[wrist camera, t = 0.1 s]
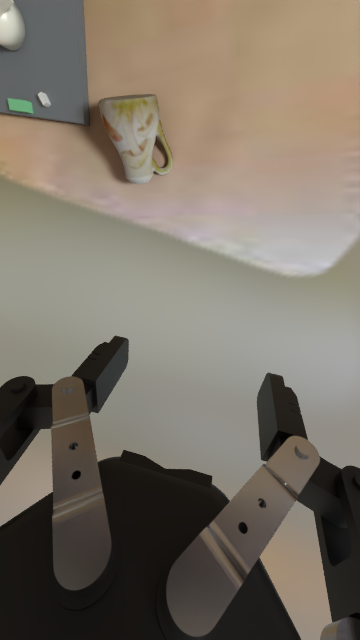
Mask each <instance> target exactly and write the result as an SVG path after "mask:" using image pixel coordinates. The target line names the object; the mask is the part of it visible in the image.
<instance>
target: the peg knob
mask: <svg viewBox="0 0 360 640" xmlns="http://www.w3.org/2000/svg"><path fill="white" fill-rule="evenodd" d="M24 39H25V25H24V20H23V17H22V14H21V12H20V10H19V8H18V7H17V5H16V4H15V3H14V1H13V0H0V45H2V46H3V47H5V48H7V49H9V50H12V51H15V50H18V49H19V48H20V47H21V46H22V45H23V42H24Z"/></svg>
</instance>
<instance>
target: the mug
mask: <svg viewBox="0 0 360 640" xmlns="http://www.w3.org/2000/svg"><path fill="white" fill-rule="evenodd" d="M99 109H100V115H101V120H102V122H103V125H104V127H105V129H106V131H107V133H108V135H109V137H110V139H111V140H112V142H113V144H114V146H115V147H116V149H117V151H118V153H119V155H120V157H121V159H122V162H123V166H124V171H125V176H126V178H127V179H128V180H129V181H130V182H132V183H135V184H143V183H146V182H148V181H149V180H150V179H151V177H152V176H153V172H154V171H155V172H156V173H158V174H159V175H166V174H167V173H168V172H169V171H170V170H171V168H172V163H173V159H172V154H171V150H170V148H169V146H168V144H167V142H166V139H165V137H164V134H163V130H162V125H161V122H160V120H159V107H158V101H157V97H156V95H151V94H146V95H128V96H118V97H110V98H104V99H101V100H100V101H99ZM156 136H158V138H159V139H160V141H161V143H162V145H163V147H164V149H165V151H166V154H167V157H168V164H167V165H166V167H164V168H159V167H158V166H157V165H156V162H155V160H154V159H153V157H152V153H153V148H154V143H155V139H156Z"/></svg>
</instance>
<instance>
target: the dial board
mask: <svg viewBox="0 0 360 640" xmlns="http://www.w3.org/2000/svg"><path fill="white" fill-rule="evenodd" d="M13 1H14V3H15V4H16V5H17V7H18V8H19V10H20V12H21V14H22V17H23V20H24V25H25V39H24V42H23V45H22V46H21V47H20V48H19V49H18V50H15V51H12V50H9V49H7V48H5V47H3V46H2V45H0V113H3V114H10V115H17V116H24V117H31V118H38V119H46V120H53V121H60V122H67V123H74V124H81V125H88V126H90V123H89V104H88V84H87V65H86V46H85V26H84V7H83V0H13Z"/></svg>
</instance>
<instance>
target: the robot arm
mask: <svg viewBox="0 0 360 640" xmlns="http://www.w3.org/2000/svg"><path fill="white" fill-rule="evenodd" d="M128 343H129V341H128V339H127V338H123V337H119V336H114V337H113V339H112V340H111V341H110V342H109V343H107V342H104V343H102V344H100V345H98V346H97V347H96V348H95V349H94V350H93V351H92V353H91V354H90V355H89V356H88V358H86V360H85V361H84V362H83V363H82V364H81V365H80V367H79V368H78V369H77V370H76V371H75V372H74V374H73V375H72V376H71V377H65V378H62V379H60V380H58V381H57V382H56V383H55V384H49V385H36V384H35V381H34V379H32V378H31V377H27V376H20V377H16V378H13V379H11V380H9V381H7V382H6V383H5V384H4V385H3V386H1V387H0V485H1V483H2V482H3V481H4V479H5V478H6V476H7V475H8V474H9V472H10V471H11V470H12V468H13V467H14V465H15V464H16V462H17V461H18V460H19V458H20V457H21V456H22V454H23V453H24V452H25V450H26V449H27V447H28V446H29V445H30V443H31V442H32V440H33V439H34V438H35V436H36V435H37V434H38V432H39V430H40V429H51V436H52V474H53V492H52V493H50V494H48V495H47V496H45V497H44V498H43V499H41V500H39V501H38V502H36V503H35V504H34V505H32V506H30V507H29V508H28V509H26V510H24V511H23V512H21V513H20V514H19V515H17V516H15V517H14V518H12V519H11V520H9V521H8V522H7V523H5V524H3V525H2V526H0V640H301V638H300V636H299V634H298V632H297V630H296V628H295V626H294V624H293V622H292V620H291V619H290V617H289V615H288V612H287V611H286V609H285V607H284V605H283V603H282V601H281V599H280V597H279V595H278V593H277V591H276V589H275V587H274V585H273V583H272V581H271V579H270V577H269V575H268V573H267V571H266V569H265V567H264V565H263V563H262V561H261V559H260V558H259V557H260V555H261V553H262V552H263V550H264V549H265V547H266V546H267V544H268V543H269V541H270V540H271V538H272V537H273V535H274V534H275V532H276V530H277V529H278V527H279V526H280V525H281V523H282V521H283V520H284V518H285V517H286V515H287V514H288V512H289V511H290V509H291V508H292V506H293V505H294V503H295V502H296V500H297V501H299V502H300V503H302V504H303V505H305V506H306V507H308V508H309V509H311V510H313V511H314V516H315V522H316V528H317V534H318V539H319V546H320V552H321V557H322V563H323V570H324V576H325V582H326V587H327V593H328V599H329V605H330V611H331V617H332V623H331V624H328V625H327V626H326V627H324V629H323V631H322V633H321V637H320V640H360V468H357V467H355V466H346V467H344V468H343V469H340V468H338V467H337V466H335V465H333V464H331V463H329V462H327V461H326V460H324V459H323V458H321V457H320V456H319V453H318V451H317V449H316V448H315V447H314V446H313V444H311V443H310V442H309V441H308V439H307V435H306V431H305V427H304V423H303V419H302V415H301V414H300V412H301V411H300V408H299V404H298V400H297V396H296V395H295V393H294V392H293V390H292V389H291V388H289V387H285V385H284V380H283V377H282V376H280V375H276V374H271V373H267V374H266V376H265V379H264V381H263V383H262V386H261V388H260V390H259V393H258V397H257V409H258V424H259V436H260V450H261V460H263V461H267V463H266V464H263V465H262V466H261V467H260V468H259V469H258V470H257V471H256V473H255V474H254V475H253V476H252V477H251V478H250V479H249V481H248V482H247V483H246V484H245V485H244V486H243V487H242V488H241V490H240V491H239V492H238V493H237V494H236V495H235V496H234V497H233V499H232V500H231V501H230V500H229V499H228V498H227V497H226V496H225V494H224V493H223V492H221V490H219V489H218V488H217V487H216V486H214V485H213V484H212V476H210V475H207V474H204V473H200V472H197V471H193V470H190V469H165V468H163V467H161V466H160V465H158V464H157V463H155V462H153V461H152V460H150V459H149V458H147V457H145V456H143V455H140V454H136V453H133V452H129V451H126V450H123V453H122V455H121V457H111V458H107V459H104V460H102V461H99V462H97V456H96V451H95V444H94V439H93V433H92V427H91V421H90V416H89V415H90V413H91V411H92V412H96V413H99V411H100V410H101V408H102V406H103V405H104V403H105V401H106V400H107V398H108V396H109V395H110V393H111V392H112V390H113V388H114V387H115V385H116V383H117V382H118V380H119V378H120V377H121V375H122V373H123V372H124V370H125V368H126V366H127V363H128V345H129V344H128Z"/></svg>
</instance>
